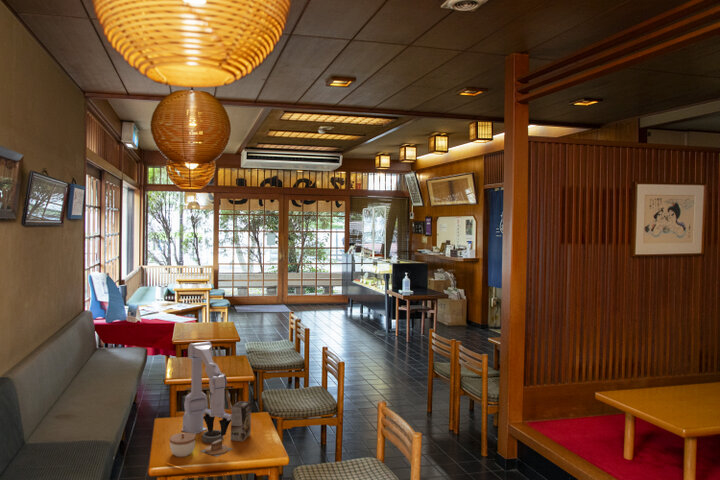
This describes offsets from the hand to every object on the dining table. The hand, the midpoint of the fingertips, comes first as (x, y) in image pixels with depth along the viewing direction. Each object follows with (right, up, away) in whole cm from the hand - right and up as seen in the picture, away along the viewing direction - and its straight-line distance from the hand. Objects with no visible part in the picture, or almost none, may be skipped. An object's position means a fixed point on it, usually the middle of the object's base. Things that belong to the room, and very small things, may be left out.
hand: (217, 433), depth 243 cm
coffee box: (+7, -8, +16) cm, 19 cm away
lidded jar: (-14, -8, -4) cm, 17 cm away
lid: (0, -8, 0) cm, 8 cm away
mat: (0, -8, 0) cm, 8 cm away
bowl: (-5, -8, +12) cm, 15 cm away
